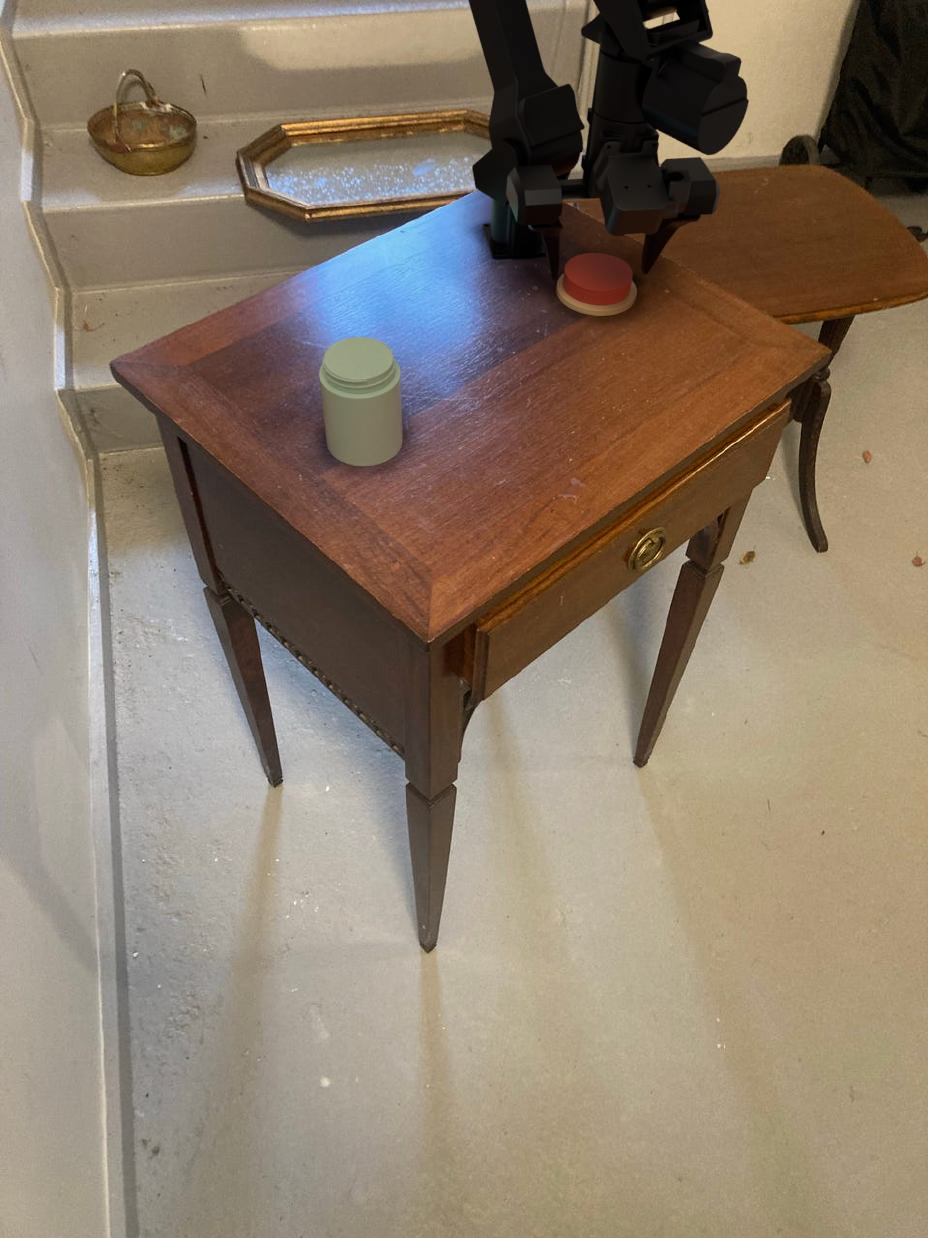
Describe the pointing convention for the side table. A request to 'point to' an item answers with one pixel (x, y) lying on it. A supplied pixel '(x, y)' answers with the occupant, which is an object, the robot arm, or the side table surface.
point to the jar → (361, 401)
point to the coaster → (595, 309)
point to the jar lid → (597, 279)
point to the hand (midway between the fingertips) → (599, 274)
